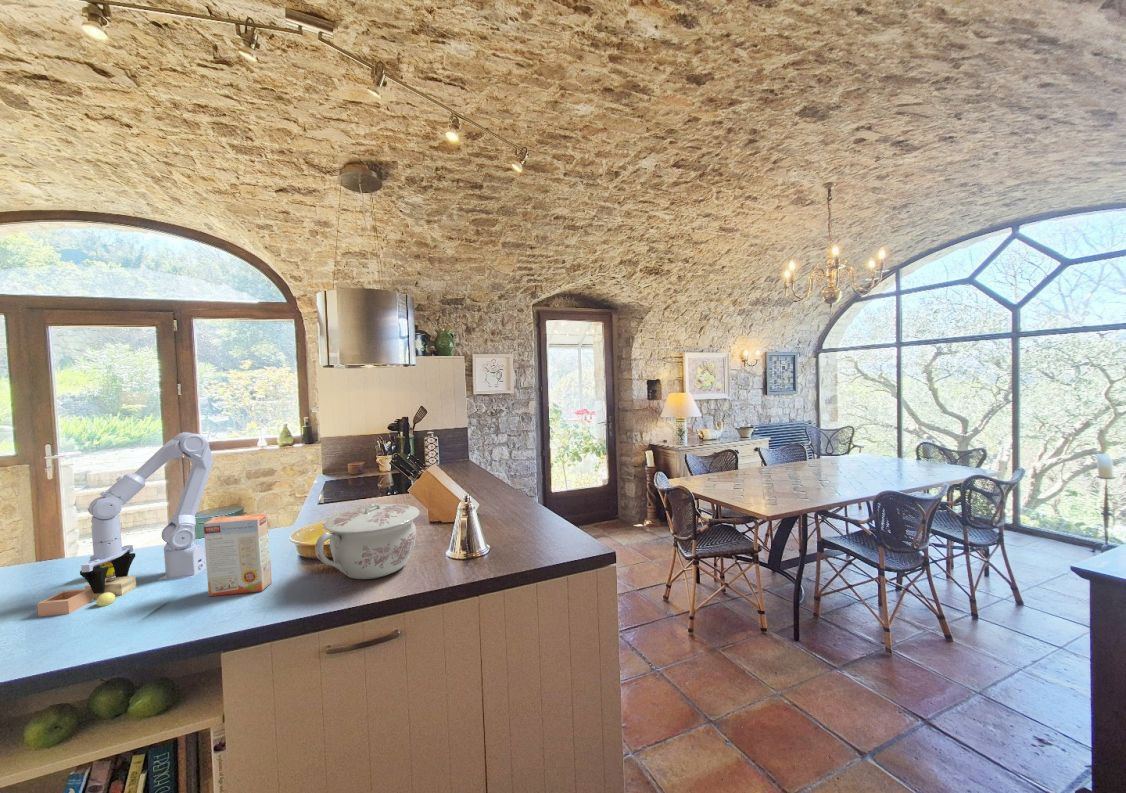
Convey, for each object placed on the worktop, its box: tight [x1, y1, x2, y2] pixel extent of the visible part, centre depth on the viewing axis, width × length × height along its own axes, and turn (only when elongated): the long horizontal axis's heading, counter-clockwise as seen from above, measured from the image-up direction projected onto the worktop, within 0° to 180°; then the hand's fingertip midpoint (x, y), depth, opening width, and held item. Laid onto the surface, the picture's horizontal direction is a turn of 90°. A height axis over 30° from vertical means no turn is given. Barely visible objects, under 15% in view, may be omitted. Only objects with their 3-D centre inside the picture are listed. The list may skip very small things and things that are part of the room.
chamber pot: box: [314, 502, 421, 580], centre depth 140 cm, size 28×28×21 cm
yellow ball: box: [95, 592, 116, 607], centre depth 123 cm, size 4×4×4 cm
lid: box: [84, 575, 137, 598], centre depth 129 cm, size 9×5×4 cm, turn 98°
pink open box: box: [36, 588, 94, 617], centre depth 121 cm, size 7×7×4 cm
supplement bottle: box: [100, 561, 115, 578], centre depth 142 cm, size 6×6×10 cm
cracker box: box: [203, 513, 273, 597], centre depth 130 cm, size 14×6×21 cm, turn 97°
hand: (110, 586), depth 129 cm, fingers open, 7 cm apart
